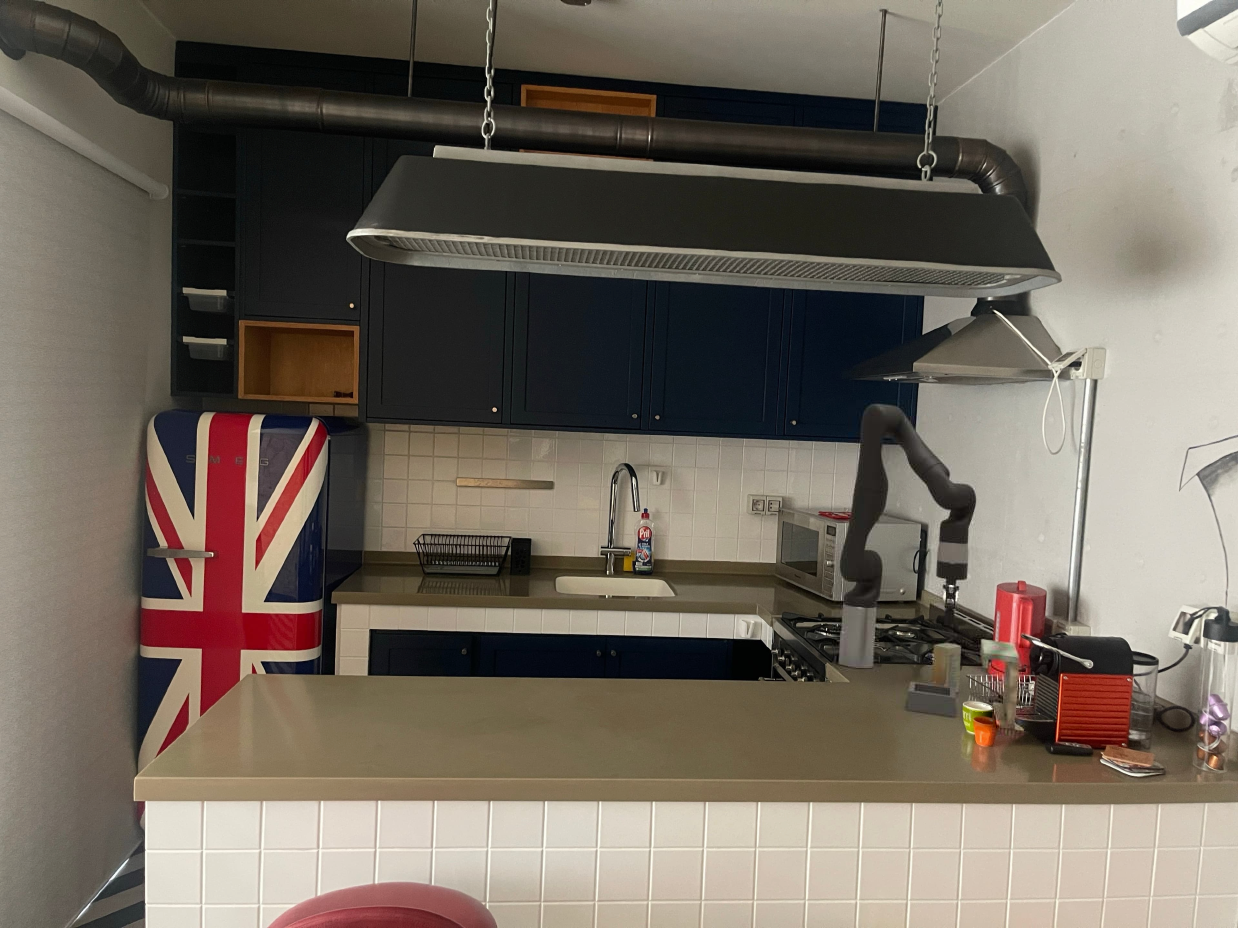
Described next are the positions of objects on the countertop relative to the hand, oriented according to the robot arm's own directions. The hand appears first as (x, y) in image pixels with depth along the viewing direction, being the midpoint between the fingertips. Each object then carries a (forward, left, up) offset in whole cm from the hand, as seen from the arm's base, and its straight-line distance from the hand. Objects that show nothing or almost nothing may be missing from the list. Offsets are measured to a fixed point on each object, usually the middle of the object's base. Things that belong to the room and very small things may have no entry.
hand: (949, 622), depth 224 cm
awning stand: (+12, -18, -18) cm, 28 cm away
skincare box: (0, 0, -18) cm, 18 cm away
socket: (-3, -19, -18) cm, 26 cm away
